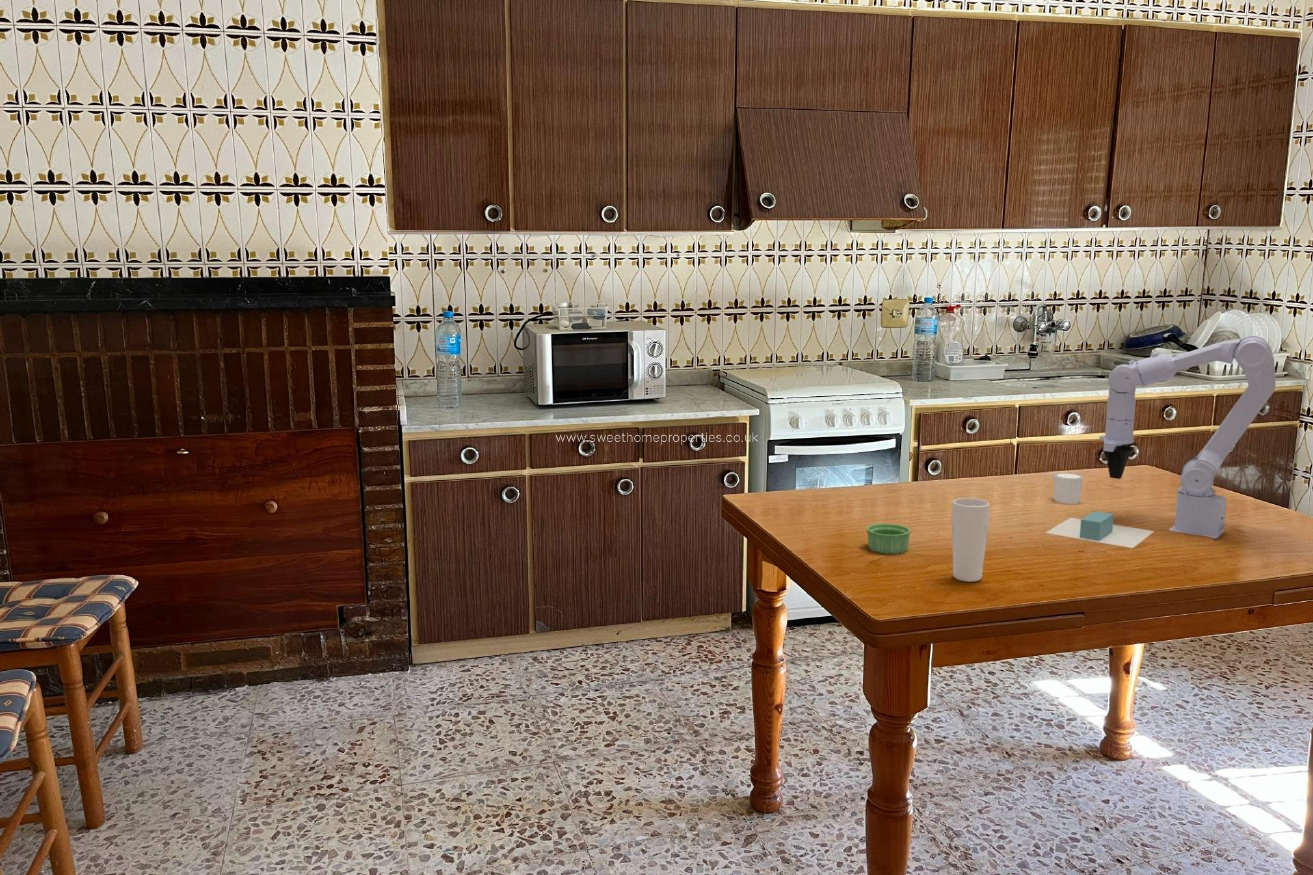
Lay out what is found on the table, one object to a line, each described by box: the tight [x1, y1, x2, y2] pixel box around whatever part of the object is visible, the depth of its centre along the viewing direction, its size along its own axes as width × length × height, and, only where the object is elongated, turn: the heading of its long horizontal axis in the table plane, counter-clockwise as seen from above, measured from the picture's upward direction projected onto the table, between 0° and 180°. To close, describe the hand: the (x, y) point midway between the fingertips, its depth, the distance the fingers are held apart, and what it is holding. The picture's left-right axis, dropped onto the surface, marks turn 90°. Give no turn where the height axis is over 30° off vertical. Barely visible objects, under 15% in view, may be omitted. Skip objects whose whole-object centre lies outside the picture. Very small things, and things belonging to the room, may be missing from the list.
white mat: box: [1045, 517, 1155, 549], centre depth 221 cm, size 18×16×1 cm
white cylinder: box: [1053, 472, 1085, 505], centre depth 247 cm, size 7×7×7 cm
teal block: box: [1080, 510, 1115, 541], centre depth 219 cm, size 4×4×9 cm
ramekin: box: [866, 523, 912, 555], centre depth 212 cm, size 9×9×4 cm
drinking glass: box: [951, 497, 990, 583], centre depth 192 cm, size 7×7×15 cm
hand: (1115, 477), depth 229 cm, fingers closed
